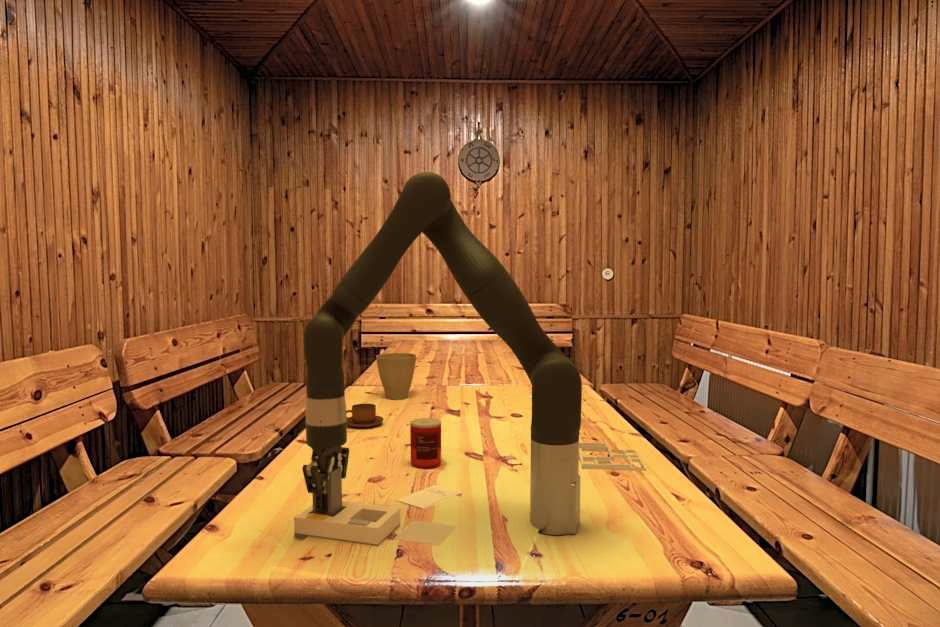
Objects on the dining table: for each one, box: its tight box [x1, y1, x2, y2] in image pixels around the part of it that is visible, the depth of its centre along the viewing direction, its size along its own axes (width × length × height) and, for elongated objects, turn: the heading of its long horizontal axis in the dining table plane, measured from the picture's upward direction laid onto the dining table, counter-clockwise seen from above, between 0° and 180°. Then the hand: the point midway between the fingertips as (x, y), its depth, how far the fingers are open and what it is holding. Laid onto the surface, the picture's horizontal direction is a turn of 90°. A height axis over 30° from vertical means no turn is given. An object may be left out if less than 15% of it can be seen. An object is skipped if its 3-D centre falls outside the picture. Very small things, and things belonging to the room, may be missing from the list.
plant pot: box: [375, 352, 417, 401], centre depth 248 cm, size 15×15×16 cm
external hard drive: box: [394, 484, 463, 510], centre depth 143 cm, size 2×8×12 cm
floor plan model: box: [579, 442, 647, 472], centre depth 173 cm, size 19×25×2 cm
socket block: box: [293, 500, 401, 547], centre depth 126 cm, size 17×10×4 cm, turn 72°
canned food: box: [409, 417, 442, 470], centre depth 168 cm, size 8×8×11 cm
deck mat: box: [393, 520, 457, 546], centre depth 124 cm, size 9×9×1 cm
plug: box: [311, 467, 343, 517], centre depth 126 cm, size 4×4×9 cm
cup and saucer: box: [346, 403, 384, 428], centre depth 208 cm, size 12×12×6 cm
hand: (328, 507), depth 127 cm, fingers closed on plug, 4 cm apart
